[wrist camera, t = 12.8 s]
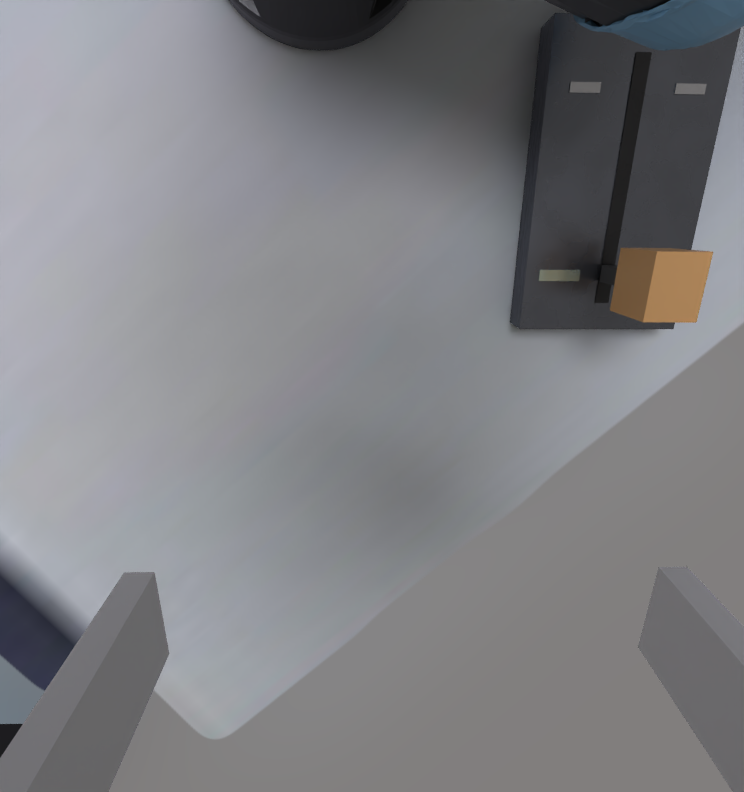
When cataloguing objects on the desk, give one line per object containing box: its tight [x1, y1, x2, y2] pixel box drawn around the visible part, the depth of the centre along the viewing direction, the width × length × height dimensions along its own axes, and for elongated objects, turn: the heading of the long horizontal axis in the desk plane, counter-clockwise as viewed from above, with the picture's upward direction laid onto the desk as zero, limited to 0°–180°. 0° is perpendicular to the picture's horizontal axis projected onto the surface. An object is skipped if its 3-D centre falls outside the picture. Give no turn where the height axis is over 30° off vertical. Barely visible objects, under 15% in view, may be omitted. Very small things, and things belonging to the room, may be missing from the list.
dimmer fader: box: [599, 248, 713, 322], centre depth 32 cm, size 4×3×8 cm
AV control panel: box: [510, 13, 741, 329], centre depth 35 cm, size 20×12×3 cm, turn 0°
